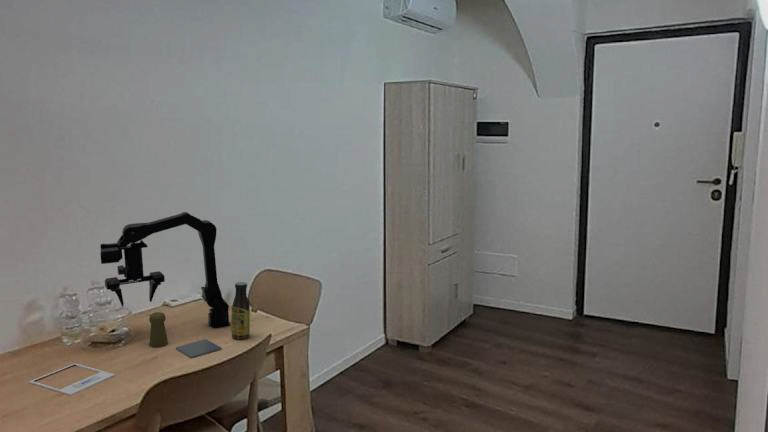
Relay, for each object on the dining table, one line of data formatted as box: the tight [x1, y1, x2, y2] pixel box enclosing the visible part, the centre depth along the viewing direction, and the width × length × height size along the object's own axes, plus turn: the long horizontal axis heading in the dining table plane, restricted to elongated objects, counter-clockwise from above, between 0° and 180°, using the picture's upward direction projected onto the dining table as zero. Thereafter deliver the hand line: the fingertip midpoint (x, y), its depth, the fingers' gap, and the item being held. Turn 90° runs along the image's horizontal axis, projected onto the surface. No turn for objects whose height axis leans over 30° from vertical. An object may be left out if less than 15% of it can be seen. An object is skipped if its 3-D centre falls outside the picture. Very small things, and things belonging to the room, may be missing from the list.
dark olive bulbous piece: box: [148, 311, 169, 349], centre depth 198 cm, size 6×6×11 cm
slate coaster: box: [175, 338, 223, 359], centre depth 195 cm, size 11×11×1 cm
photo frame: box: [28, 363, 116, 396], centre depth 171 cm, size 15×1×18 cm
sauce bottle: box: [231, 281, 251, 340], centre depth 205 cm, size 7×6×20 cm
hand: (136, 303), depth 204 cm, fingers open, 9 cm apart
